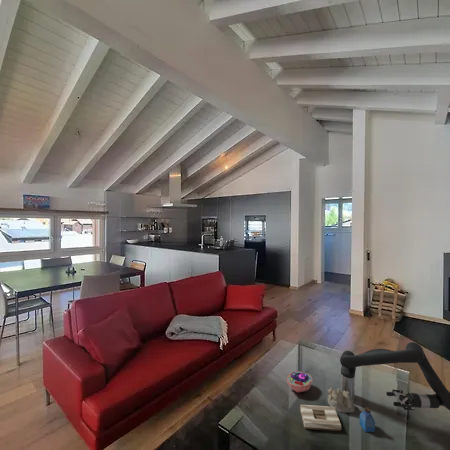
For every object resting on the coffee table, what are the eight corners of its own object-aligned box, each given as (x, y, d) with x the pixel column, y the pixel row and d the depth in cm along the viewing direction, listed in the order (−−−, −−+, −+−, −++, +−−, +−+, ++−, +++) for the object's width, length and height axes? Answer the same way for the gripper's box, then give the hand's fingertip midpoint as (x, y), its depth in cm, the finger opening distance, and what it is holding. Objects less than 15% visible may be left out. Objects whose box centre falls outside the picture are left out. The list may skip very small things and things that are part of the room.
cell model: (281, 386, 204) (281, 371, 203) (302, 378, 212) (302, 365, 212) (296, 400, 189) (296, 385, 188) (317, 391, 197) (317, 377, 196)
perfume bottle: (369, 423, 168) (369, 405, 167) (374, 431, 162) (375, 412, 161) (359, 423, 168) (359, 405, 167) (365, 431, 161) (365, 413, 161)
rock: (357, 413, 175) (356, 391, 176) (331, 412, 178) (330, 390, 178) (349, 398, 191) (348, 377, 191) (325, 397, 193) (324, 376, 193)
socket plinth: (300, 410, 179) (300, 404, 179) (333, 412, 177) (333, 406, 177) (304, 428, 165) (304, 422, 164) (341, 431, 162) (341, 425, 162)
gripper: (411, 386, 167) (384, 385, 169) (426, 403, 153) (396, 401, 155) (411, 397, 167) (384, 396, 169) (425, 415, 153) (396, 413, 155)
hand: (390, 398), depth 162 cm, fingers open, 8 cm apart
